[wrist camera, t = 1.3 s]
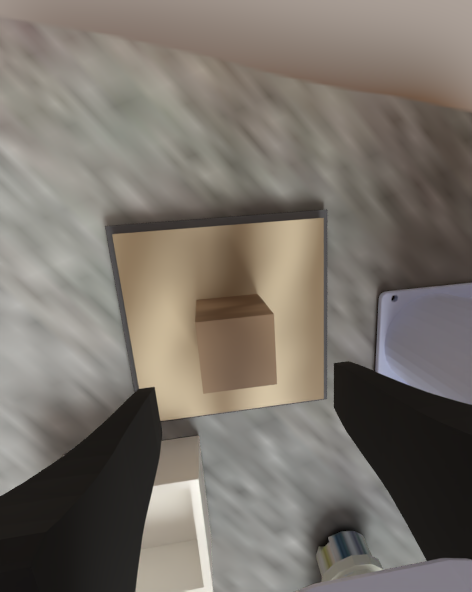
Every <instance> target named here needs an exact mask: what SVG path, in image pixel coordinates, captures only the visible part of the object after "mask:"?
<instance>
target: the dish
mask: <svg viewBox="0 0 472 592" xmlns="http://www.w3.org/2000/svg"><path fill="white" fill-rule="evenodd" d="M63 456H64V455H63ZM63 456H62V457H63ZM135 592H213V572H212V541H211V528H210V520H209V512H208V504H207V496H206V488H205V480H204V472H203V464H202V456H201V448H200V439H199V435H198V436H191V437H184V438H177V439H170V440H163V441H161V450H160V458H159V463H158V468H157V472H156V477H155V481H154V485H153V490H152V494H151V499H150V503H149V507H148V512H147V516H146V520H145V526H144V531H143V537H142V544H141V551H140V559H139V566H138V574H137V582H136V590H135Z"/></svg>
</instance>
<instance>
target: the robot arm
mask: <svg viewBox="0 0 472 592" xmlns="http://www.w3.org/2000/svg"><path fill="white" fill-rule="evenodd" d="M392 296H395V298H394V299H393V300H391V298H392ZM334 408H335V411H336V413H337V415H338V417H339V419H340V420H341V422H342V424H343V426H344V428H345V430H346V431H347V433H348V434H349V436H350V437H351V438H352V440H353V441H354V443H355V444H356V446H357V447H358V448H359V450H360V451H361V453H362V454H363V456H364V457H365V458H366V460H367V461H368V463H369V464H370V465H371V467H372V468H373V470H374V471H375V472H376V474H377V475H378V477H379V478H380V480H381V481H382V483H383V484H384V486H385V487H386V489H387V490H388V492H389V493H390V495H391V497H392V499H393V500H394V502H395V504H396V506H397V507H398V509H399V511H400V513H401V514H402V516H403V518H404V520H405V521H406V523H407V525H408V527H409V529H410V530H411V532H412V534H413V536H414V538H415V540H416V541H417V543H418V545H419V547H420V549H421V551H422V552H423V554H424V556H425V558H426V560H427V561H425V562H420V563H415V564H410V565H405V566H400V567H395V568H390V569H385V570H380V571H375V572H370V573H365V574H360V575H355V576H350V577H345V578H340V579H335V580H330V581H325V582H320V583H315V584H312V585H309V586H307V587H304V588H302V589H300V590H297V591H295V592H472V283H462V284H453V285H443V286H433V287H424V288H414V289H404V290H395V291H385V292H383V293H381V294H380V296H379V303H378V325H377V346H376V367H375V371H373V370H370V369H368V368H365V367H363V366H360V365H358V364H355V363H352V362H349V361H348V362H340V363H334ZM161 440H162V428H161V422H160V416H159V410H158V404H157V398H156V392H155V387H149V388H141V389H138V390H137V391H136V392H135V393H134V394H133V395H132V396H131V397H130V398H129V399H128V400H127V401H126V402H125V403H124V404H123V405H122V406H121V407H120V408H119V409H117V410H116V411H115V412H114V413H113V414H112V415H111V416H110V417H109V418H108V419H107V420H106V421H105V422H104V423H103V424H102V425H101V426H99V427H98V428H97V429H96V430H95V431H94V432H93V433H92V434H90V435H89V436H88V437H87V438H86V439H85V440H83V441H82V442H81V443H80V444H78V445H77V446H76V447H75V448H73V449H72V450H71V451H69V452H68V453H67V454H65V455H64V456H63V457H61V458H60V459H59V460H57V461H56V462H54V463H53V464H51V465H50V466H48V467H47V468H45V469H44V470H42V471H41V472H39V473H38V474H36V475H35V476H33V477H32V478H30V479H29V480H27V481H25V482H24V483H22V484H21V485H19V486H17V487H15V488H14V489H12V490H10V491H9V492H7V493H5V494H4V495H2V496H0V592H135V590H136V582H137V574H138V566H139V559H140V551H141V544H142V537H143V531H144V526H145V520H146V516H147V512H148V507H149V503H150V499H151V494H152V490H153V485H154V481H155V477H156V472H157V468H158V463H159V458H160V450H161Z"/></svg>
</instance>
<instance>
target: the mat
mask: <svg viewBox="0 0 472 592" xmlns="http://www.w3.org/2000/svg"><path fill="white" fill-rule="evenodd" d="M314 218H324V399H327V210H314V211H301V212H288V213H274V214H261V215H248V216H234V217H221V218H208V219H194V220H181V221H168V222H155V223H141V224H128V225H115V226H105V229H106V235H107V240H108V246H109V251H110V257H111V262H112V268H113V274H114V279H115V285H116V290H117V296H118V301H119V307H120V313H121V318H122V324H123V329H124V335H125V340H126V346H127V352H128V357H129V363H130V368H131V374H132V379H133V385H134V391H135V392H136V391H137V390H138V389H139V386H138V380H137V374H136V368H135V363H134V357H133V351H132V345H131V340H130V334H129V328H128V323H127V317H126V311H125V305H124V300H123V294H122V288H121V283H120V277H119V271H118V265H117V260H116V254H115V248H114V242H113V237H112V234H121V233H134V232H147V231H160V230H172V229H185V228H198V227H211V226H224V225H237V224H250V223H263V222H275V221H288V220H301V219H314ZM324 399H318V400H324ZM311 401H317V400H311ZM303 402H309V401H303ZM296 403H302V402H296ZM289 404H295V403H289ZM281 405H287V404H281ZM274 406H280V405H274ZM267 407H273V406H267ZM260 408H266V407H260ZM252 409H258V408H252ZM245 410H251V409H245ZM238 411H244V410H238ZM230 412H236V411H230ZM223 413H229V412H223ZM216 414H222V413H216ZM208 415H215V414H208ZM201 416H207V415H201ZM194 417H200V416H194ZM186 418H193V417H186ZM179 419H185V418H179ZM172 420H178V419H172ZM165 421H171V420H165ZM160 422H164V421H160Z"/></svg>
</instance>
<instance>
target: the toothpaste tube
mask: <svg viewBox="0 0 472 592" xmlns="http://www.w3.org/2000/svg"><path fill="white" fill-rule="evenodd" d="M328 539H329V543H328V544H327V545H326V546H325V547H324V546H322V547H319V548H318V551H317V554H316V559H317V562H318V566H319V569H320V572H321V576H322V580H321V582H325V581H330V580H335V579H340V578H345V577H350V576H355V575H360V574H365V573H370V572H375V571H380V570H383V568H382V566H381V564H380V562H379V559H377V558H375V557H372V555H371V552H370V550H369V548H368V546H367V544H366V541H365V539H364V537H363V535H361V534H359V533H357V532H355V531H342V532H339V533H337V534H334V535H332V536H330V537H328Z"/></svg>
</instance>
